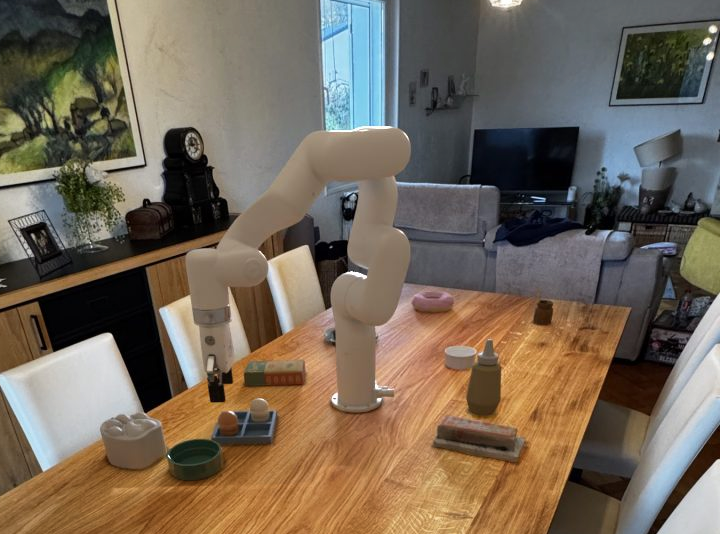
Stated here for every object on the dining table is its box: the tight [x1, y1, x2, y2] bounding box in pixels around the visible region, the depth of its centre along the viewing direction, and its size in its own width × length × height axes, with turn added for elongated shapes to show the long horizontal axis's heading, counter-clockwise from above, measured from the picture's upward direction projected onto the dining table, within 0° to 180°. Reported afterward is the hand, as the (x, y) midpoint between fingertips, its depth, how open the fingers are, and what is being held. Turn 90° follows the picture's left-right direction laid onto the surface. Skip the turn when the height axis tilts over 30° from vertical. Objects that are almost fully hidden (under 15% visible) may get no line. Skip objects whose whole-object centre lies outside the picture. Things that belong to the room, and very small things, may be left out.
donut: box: [410, 290, 455, 314], centre depth 210 cm, size 16×15×5 cm
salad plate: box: [323, 326, 379, 347], centre depth 185 cm, size 19×18×5 cm
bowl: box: [165, 438, 225, 481], centre depth 118 cm, size 11×11×4 cm
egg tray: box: [210, 409, 278, 445], centre depth 132 cm, size 13×13×2 cm
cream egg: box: [249, 397, 270, 423], centre depth 134 cm, size 4×4×6 cm
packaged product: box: [432, 414, 526, 464], centre depth 123 cm, size 18×5×10 cm
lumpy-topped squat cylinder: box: [99, 411, 168, 470], centre depth 122 cm, size 10×13×9 cm
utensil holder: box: [532, 286, 557, 326], centre depth 190 cm, size 6×6×12 cm
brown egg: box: [217, 410, 239, 436], centre depth 128 cm, size 4×4×6 cm
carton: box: [243, 359, 306, 387], centre depth 157 cm, size 8×16×4 cm, turn 88°
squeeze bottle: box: [465, 338, 502, 417], centre depth 133 cm, size 8×8×18 cm
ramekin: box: [444, 345, 478, 371], centre depth 162 cm, size 9×9×4 cm
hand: (222, 392), depth 124 cm, fingers open, 9 cm apart
